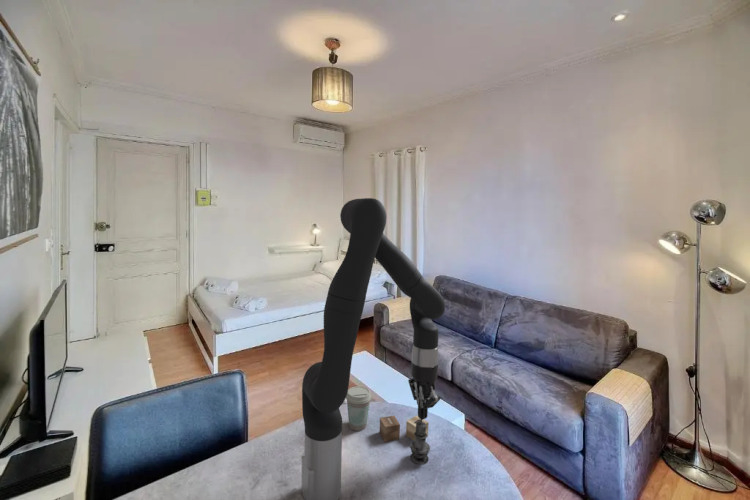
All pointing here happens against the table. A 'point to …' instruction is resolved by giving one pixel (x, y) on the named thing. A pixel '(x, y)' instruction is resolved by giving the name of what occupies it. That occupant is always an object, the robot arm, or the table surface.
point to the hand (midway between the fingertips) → (422, 417)
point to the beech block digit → (414, 427)
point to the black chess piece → (420, 445)
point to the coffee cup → (358, 407)
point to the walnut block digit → (389, 428)
